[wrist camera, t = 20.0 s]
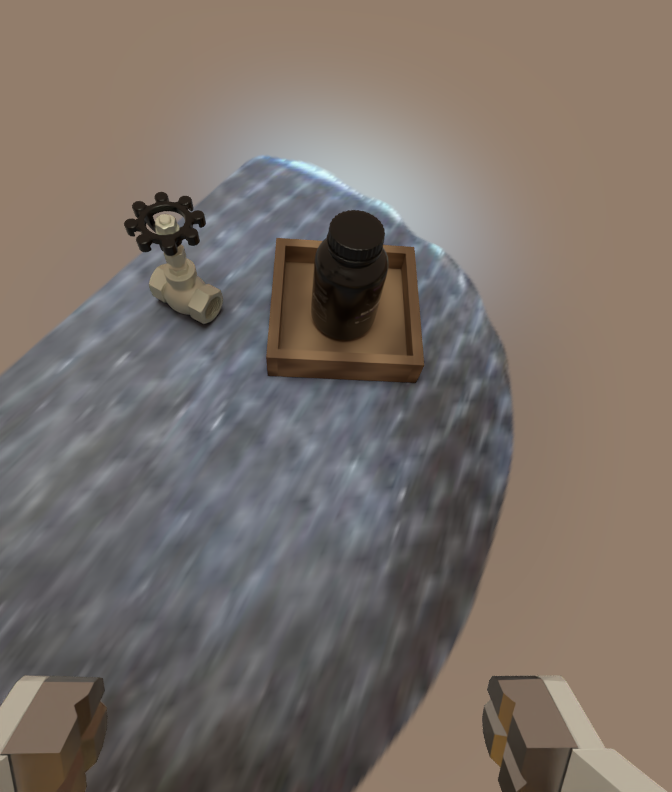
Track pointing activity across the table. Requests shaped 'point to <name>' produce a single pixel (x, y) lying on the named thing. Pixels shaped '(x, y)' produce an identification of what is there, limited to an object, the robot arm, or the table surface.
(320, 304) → the supplement bottle
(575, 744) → the robot arm
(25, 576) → the table surface
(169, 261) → the valve
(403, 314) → the walnut tray
